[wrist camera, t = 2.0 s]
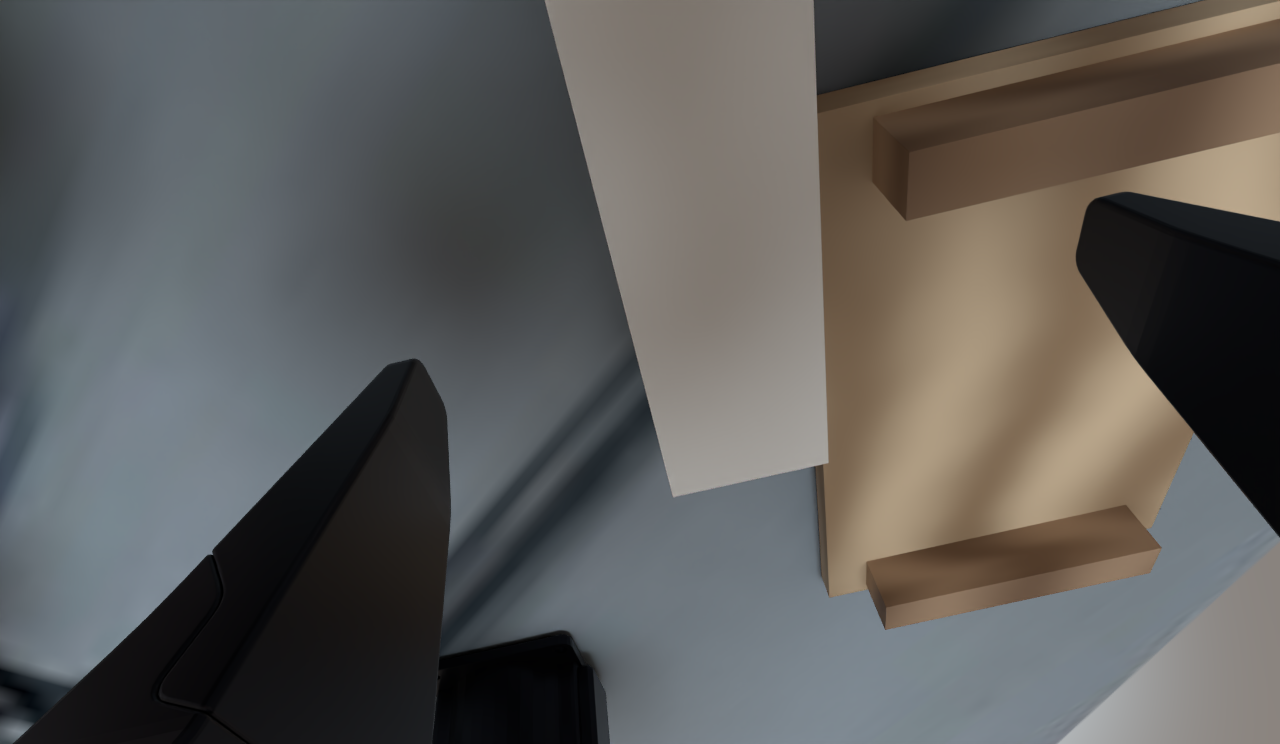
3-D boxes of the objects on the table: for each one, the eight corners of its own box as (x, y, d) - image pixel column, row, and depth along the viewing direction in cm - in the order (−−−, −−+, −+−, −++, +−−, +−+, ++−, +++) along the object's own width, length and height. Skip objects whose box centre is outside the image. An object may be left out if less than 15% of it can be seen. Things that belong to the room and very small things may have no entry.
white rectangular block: (642, 339, 21) (673, 497, 16) (480, -312, 12) (447, -376, 7) (762, 312, 21) (828, 463, 16) (693, -368, 12) (798, -469, 7)
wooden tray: (821, 576, 29) (846, 643, 27) (794, 100, 17) (836, 151, 14) (1134, 507, 29) (1187, 570, 27) (1357, -37, 16) (1495, -8, 14)
